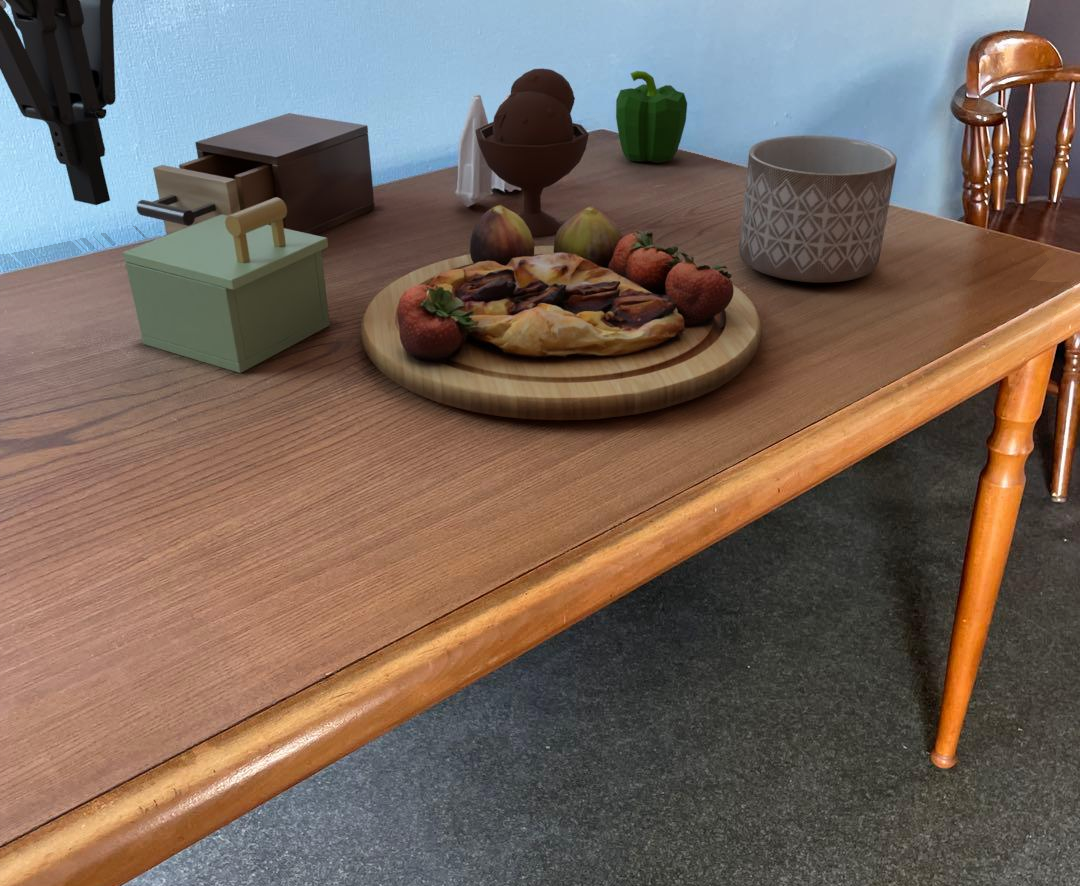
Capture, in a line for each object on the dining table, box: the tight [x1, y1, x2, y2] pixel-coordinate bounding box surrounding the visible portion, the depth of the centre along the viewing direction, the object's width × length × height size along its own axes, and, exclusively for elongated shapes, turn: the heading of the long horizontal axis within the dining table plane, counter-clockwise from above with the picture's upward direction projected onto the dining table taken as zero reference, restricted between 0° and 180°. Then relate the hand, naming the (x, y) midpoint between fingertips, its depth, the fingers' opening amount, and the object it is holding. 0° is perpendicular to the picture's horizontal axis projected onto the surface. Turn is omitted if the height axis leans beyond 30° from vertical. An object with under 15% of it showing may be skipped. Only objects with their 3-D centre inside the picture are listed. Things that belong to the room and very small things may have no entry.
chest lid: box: [122, 197, 329, 290], centre depth 84 cm, size 11×11×4 cm
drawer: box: [136, 153, 277, 236], centre depth 105 cm, size 17×9×7 cm, turn 149°
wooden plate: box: [360, 204, 762, 421], centre depth 86 cm, size 32×32×8 cm
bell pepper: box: [615, 70, 688, 163], centre depth 129 cm, size 8×8×10 cm
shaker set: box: [454, 93, 522, 208], centre depth 116 cm, size 12×4×11 cm, turn 152°
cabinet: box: [194, 112, 376, 236], centre depth 111 cm, size 14×11×9 cm
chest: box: [124, 250, 331, 374], centre depth 87 cm, size 11×11×7 cm
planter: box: [738, 134, 898, 284], centre depth 98 cm, size 13×13×10 cm
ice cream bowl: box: [475, 68, 590, 238], centre depth 107 cm, size 11×11×15 cm
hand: (92, 200), depth 92 cm, fingers closed
